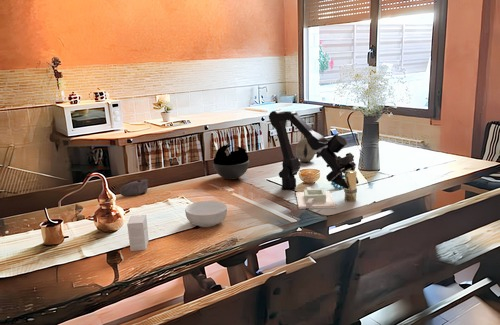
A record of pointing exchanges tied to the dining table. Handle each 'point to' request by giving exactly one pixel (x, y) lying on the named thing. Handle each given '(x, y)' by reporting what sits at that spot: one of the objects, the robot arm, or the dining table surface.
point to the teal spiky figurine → (337, 184)
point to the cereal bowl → (206, 213)
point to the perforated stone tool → (134, 188)
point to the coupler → (350, 186)
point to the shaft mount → (315, 199)
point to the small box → (138, 232)
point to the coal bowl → (231, 162)
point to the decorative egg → (304, 151)
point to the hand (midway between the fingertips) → (353, 185)
